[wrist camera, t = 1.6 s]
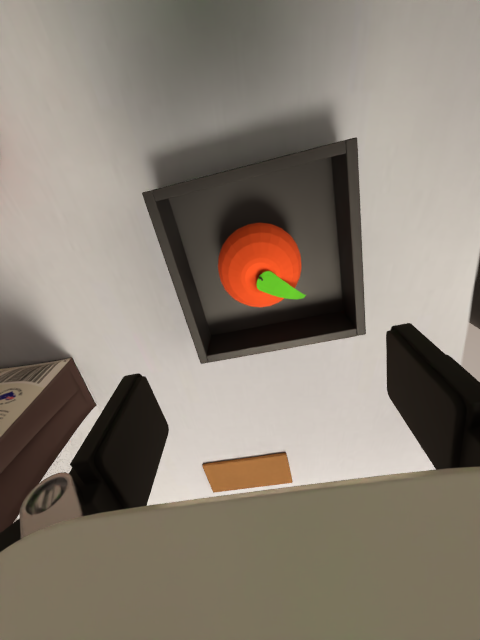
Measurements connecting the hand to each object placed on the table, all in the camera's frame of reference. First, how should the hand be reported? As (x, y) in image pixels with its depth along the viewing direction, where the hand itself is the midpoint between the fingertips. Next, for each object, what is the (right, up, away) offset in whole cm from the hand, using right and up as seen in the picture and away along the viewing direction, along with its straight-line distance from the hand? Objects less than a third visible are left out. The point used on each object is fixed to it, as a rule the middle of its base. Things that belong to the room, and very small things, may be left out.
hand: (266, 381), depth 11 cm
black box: (+1, +9, +17) cm, 19 cm away
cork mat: (0, -20, +31) cm, 37 cm away
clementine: (+1, +8, +16) cm, 18 cm away
